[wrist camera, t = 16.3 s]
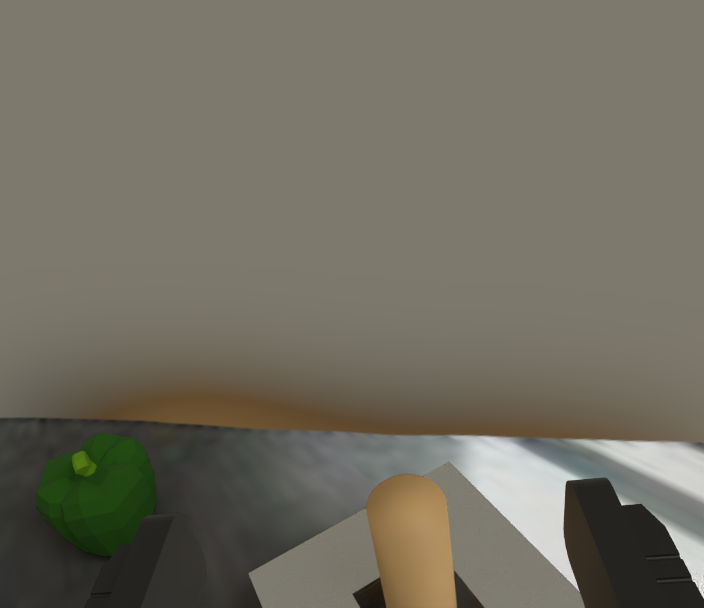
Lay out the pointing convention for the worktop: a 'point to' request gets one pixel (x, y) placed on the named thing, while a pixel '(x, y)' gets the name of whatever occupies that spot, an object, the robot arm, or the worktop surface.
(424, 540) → the pin
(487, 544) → the grey flat block
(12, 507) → the worktop surface
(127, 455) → the bell pepper
